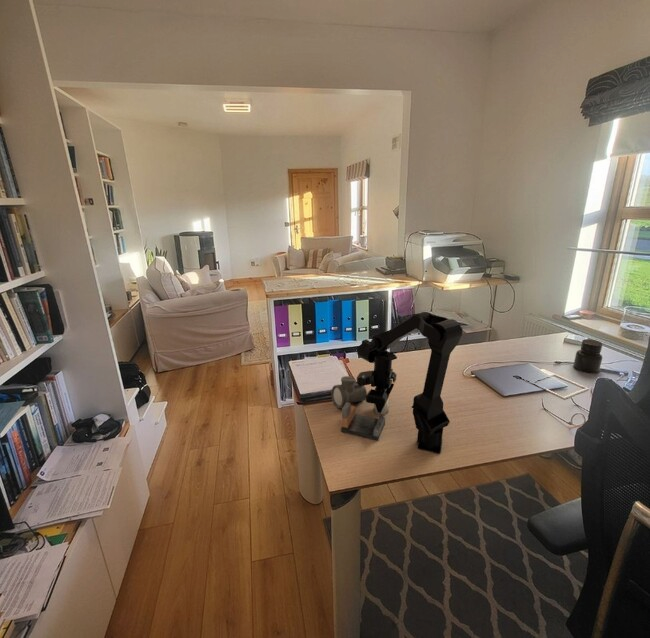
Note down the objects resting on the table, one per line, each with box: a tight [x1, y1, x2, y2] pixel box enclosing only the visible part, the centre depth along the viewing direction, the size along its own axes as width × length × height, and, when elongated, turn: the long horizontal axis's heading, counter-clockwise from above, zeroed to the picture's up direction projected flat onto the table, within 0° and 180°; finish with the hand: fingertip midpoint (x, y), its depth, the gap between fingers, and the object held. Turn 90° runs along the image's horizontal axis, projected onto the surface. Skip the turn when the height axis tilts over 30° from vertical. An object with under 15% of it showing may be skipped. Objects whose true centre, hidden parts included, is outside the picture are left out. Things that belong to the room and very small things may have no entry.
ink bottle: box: [573, 338, 603, 374], centre depth 146 cm, size 10×9×12 cm
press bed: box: [340, 413, 386, 442], centre depth 113 cm, size 12×9×4 cm
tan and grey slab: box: [341, 402, 356, 428], centre depth 114 cm, size 2×8×6 cm, turn 157°
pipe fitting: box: [331, 375, 368, 409], centre depth 126 cm, size 12×8×10 cm
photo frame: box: [540, 368, 590, 400], centre depth 137 cm, size 15×1×18 cm
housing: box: [373, 398, 390, 416], centre depth 121 cm, size 5×5×5 cm
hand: (381, 408), depth 122 cm, fingers closed on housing, 5 cm apart
